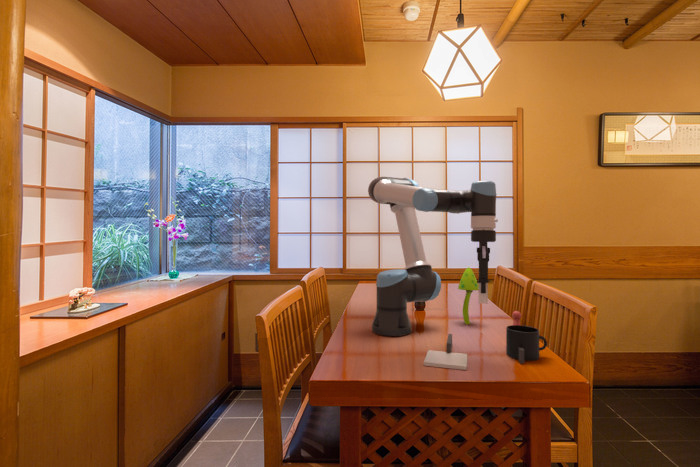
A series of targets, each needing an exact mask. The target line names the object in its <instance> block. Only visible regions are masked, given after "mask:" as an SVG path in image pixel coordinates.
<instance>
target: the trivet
mask: <svg viewBox="0 0 700 467" xmlns="http://www.w3.org/2000/svg"><path fill="white" fill-rule="evenodd" d="M423 366H424V367H426V366H427V367H435V368H444V369H453V370H461V371H468V353H464V352H463V353H462V352H452V351H451V353H447V351H441V350H431V349H428V350H427V352H426V356H425V358H424V361H423Z"/></svg>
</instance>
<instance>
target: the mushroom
mask: <svg viewBox="0 0 700 467" xmlns="http://www.w3.org/2000/svg"><path fill="white" fill-rule="evenodd" d="M477 281H478V280H477V277H476V276H475V273H474V271H473V270H472V268H470V267H469V266H468V267H467V268H466V269H465V270H464V272H463V273H462V275H461V278H460V281H459V284H458V286H457V287H458V288H457V289H458V290H462V291H465V296H464V300H463V305H462V318H463V321H464V324H465V325H468V324H469V325H471V322H470V315H469V306H470V304H469V303H470V300H471V295H472V293H473V292H474V291H479V283H477Z"/></svg>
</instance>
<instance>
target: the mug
mask: <svg viewBox="0 0 700 467" xmlns="http://www.w3.org/2000/svg"><path fill="white" fill-rule="evenodd" d="M505 333H506V335H505V336H506V337H505V338H506V346H505V347H506V348H505V352H506V356H507V357H509V358H511V359H514V360H517V361H519V360H518V347H523V349H524V362H535V361H538V360H539V359H540V351H543V350H545V349H546V348H547V345H548V341H547V339H546V338H545V337H544V336H542V335H540V330H539V329H538V328H536V327H534V326H533V327H532V326H529V325H521V324H520V325H508V326H506V332H505ZM540 340H542V341H543V345H542V347H541V346H540Z"/></svg>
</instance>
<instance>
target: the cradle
mask: <svg viewBox="0 0 700 467" xmlns="http://www.w3.org/2000/svg"><path fill="white" fill-rule="evenodd" d="M511 316H512V320H513V325H521V318H522V314H521V312H520V311H518V310H514V311H513V312H512V314H511ZM452 347H453V333H448V335H447V340H446V352H447V353H451V352H452ZM517 361H518V362H519V364H524V365H525V361H524V349H523V347H518V360H517Z"/></svg>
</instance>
